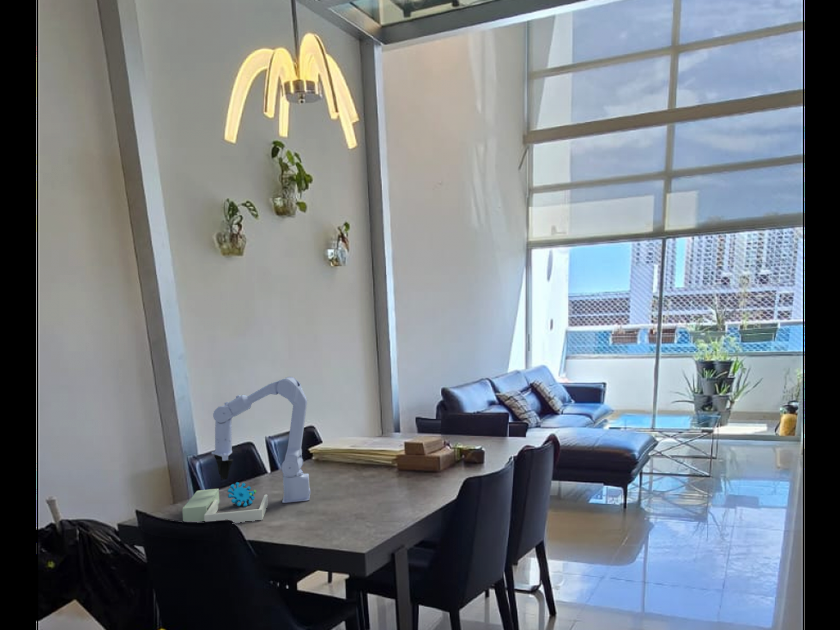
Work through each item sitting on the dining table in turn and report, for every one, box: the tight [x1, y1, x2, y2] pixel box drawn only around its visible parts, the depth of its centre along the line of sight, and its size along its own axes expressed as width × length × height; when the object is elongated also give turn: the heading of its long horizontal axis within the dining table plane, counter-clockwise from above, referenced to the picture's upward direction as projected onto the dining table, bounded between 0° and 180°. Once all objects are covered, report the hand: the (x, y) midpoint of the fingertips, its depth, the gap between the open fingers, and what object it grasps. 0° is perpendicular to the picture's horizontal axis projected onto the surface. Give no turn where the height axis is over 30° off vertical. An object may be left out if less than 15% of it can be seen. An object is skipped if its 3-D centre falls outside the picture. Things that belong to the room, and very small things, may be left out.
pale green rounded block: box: [182, 488, 220, 522], centre depth 205 cm, size 8×22×5 cm, turn 9°
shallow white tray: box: [204, 494, 269, 524], centre depth 200 cm, size 18×18×4 cm
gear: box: [227, 481, 257, 508], centre depth 212 cm, size 11×6×10 cm
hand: (223, 476), depth 214 cm, fingers open, 7 cm apart
